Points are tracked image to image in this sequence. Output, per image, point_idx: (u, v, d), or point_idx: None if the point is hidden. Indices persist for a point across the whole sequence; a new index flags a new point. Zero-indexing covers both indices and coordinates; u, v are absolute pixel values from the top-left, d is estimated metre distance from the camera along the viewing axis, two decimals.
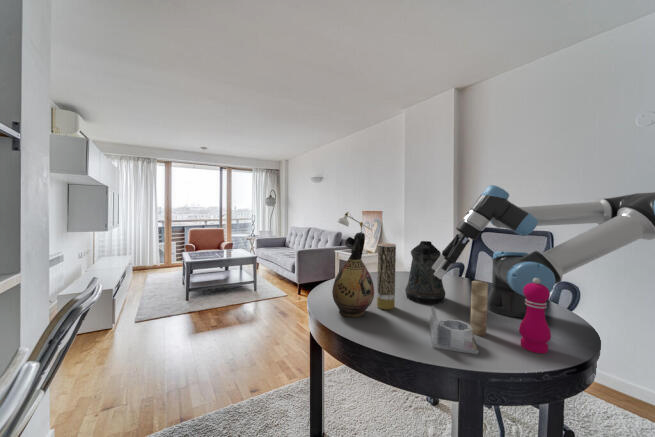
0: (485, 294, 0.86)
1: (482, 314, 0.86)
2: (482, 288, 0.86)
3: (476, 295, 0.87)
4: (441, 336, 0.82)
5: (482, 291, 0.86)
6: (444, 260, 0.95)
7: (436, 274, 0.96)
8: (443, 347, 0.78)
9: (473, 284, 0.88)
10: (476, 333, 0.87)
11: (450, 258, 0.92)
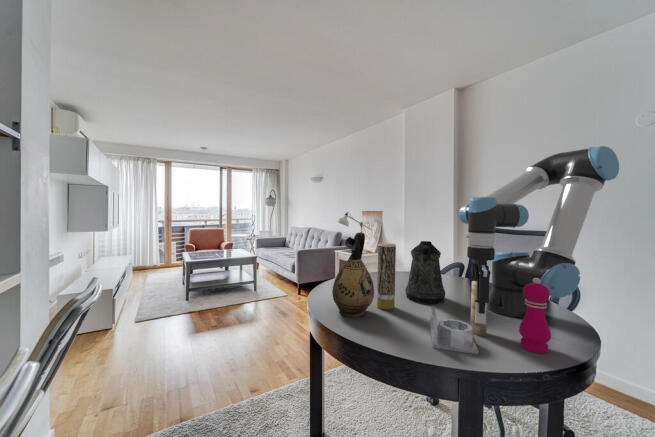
0: None
1: None
2: None
3: (476, 295, 0.87)
4: (441, 336, 0.82)
5: None
6: (476, 303, 0.86)
7: (478, 321, 0.86)
8: (443, 347, 0.78)
9: (473, 284, 0.88)
10: (476, 333, 0.87)
11: (481, 300, 0.83)
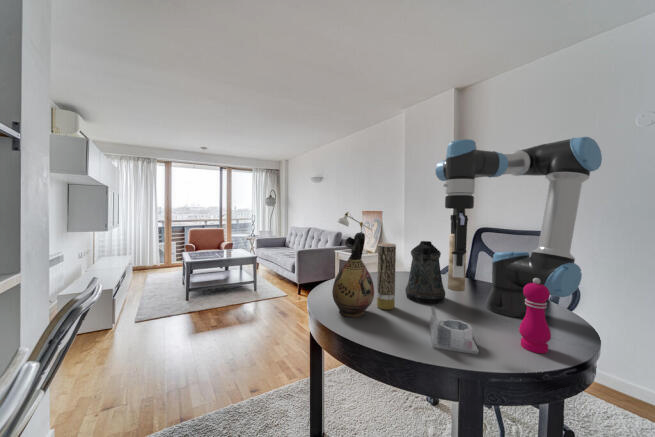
0: None
1: None
2: None
3: (453, 248, 0.80)
4: (441, 336, 0.82)
5: None
6: (454, 255, 0.79)
7: (456, 275, 0.79)
8: (443, 347, 0.78)
9: (451, 236, 0.81)
10: (454, 288, 0.80)
11: (458, 250, 0.76)
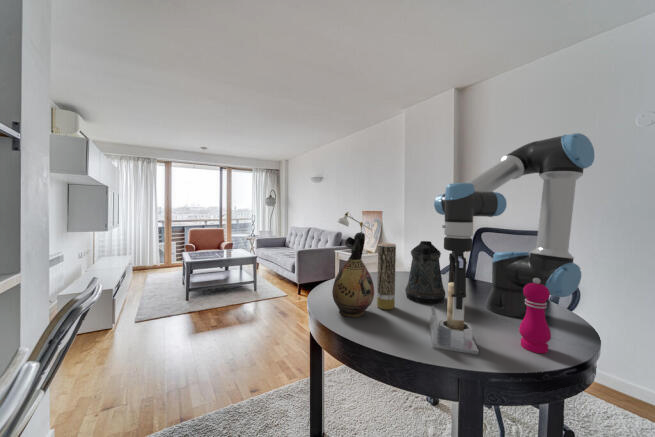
0: None
1: None
2: None
3: (452, 298, 0.81)
4: (441, 336, 0.82)
5: None
6: (453, 298, 0.78)
7: (455, 317, 0.78)
8: (443, 347, 0.78)
9: (449, 286, 0.81)
10: None
11: (458, 294, 0.75)
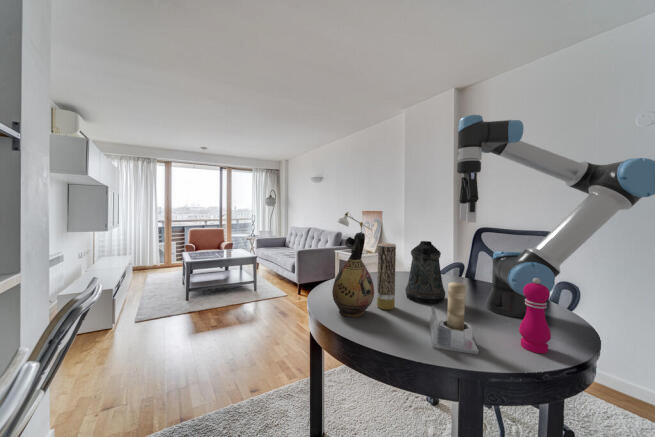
0: (462, 297, 0.80)
1: (458, 318, 0.80)
2: (459, 290, 0.79)
3: (452, 298, 0.80)
4: (441, 336, 0.82)
5: (458, 294, 0.79)
6: (467, 203, 0.93)
7: (469, 220, 0.93)
8: (443, 347, 0.78)
9: (449, 286, 0.81)
10: None
11: (471, 198, 0.90)
